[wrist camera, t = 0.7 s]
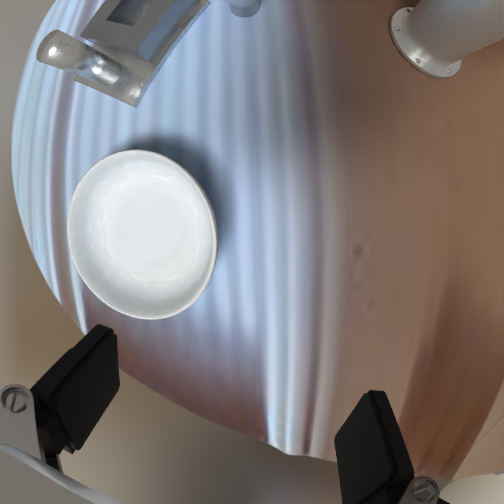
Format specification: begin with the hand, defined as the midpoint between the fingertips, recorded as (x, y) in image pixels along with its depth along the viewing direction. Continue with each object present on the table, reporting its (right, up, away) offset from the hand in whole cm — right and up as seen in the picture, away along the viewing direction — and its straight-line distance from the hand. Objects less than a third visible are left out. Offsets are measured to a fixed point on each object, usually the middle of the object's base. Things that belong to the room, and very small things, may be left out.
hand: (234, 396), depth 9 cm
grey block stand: (-16, +36, +20) cm, 45 cm away
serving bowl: (-13, +8, +28) cm, 32 cm away
